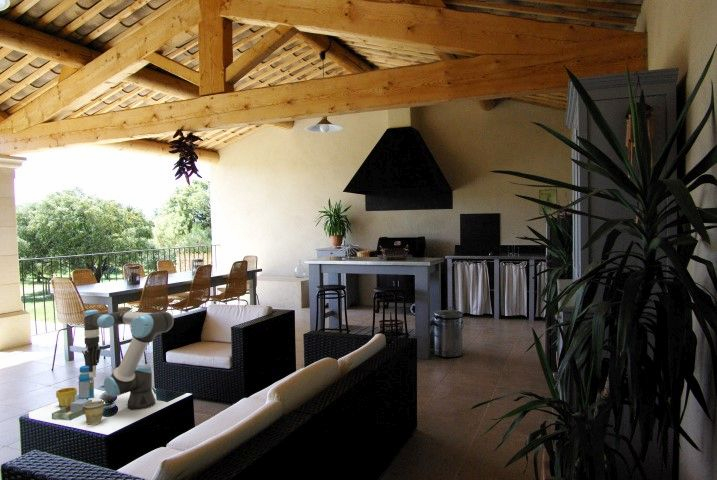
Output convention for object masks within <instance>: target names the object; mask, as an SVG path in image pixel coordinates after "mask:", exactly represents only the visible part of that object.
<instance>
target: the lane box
mask: <svg viewBox="0 0 717 480" xmlns="http://www.w3.org/2000/svg"><path fill="white" fill-rule="evenodd" d="M86 400H89V398H87V399H86ZM102 400H103V399H101V400H100V401H102ZM83 415H85V413H84V409H80V410H78V411H76V412H71V409H70V406H65V407H63V408H61V409H59V410H57V411H54V412H51V420H60V421H61V420H62V421H63V420H64V421H72V420H74V419H76V418H78V417H80V416H83Z"/></svg>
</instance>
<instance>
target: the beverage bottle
mask: <svg viewBox="0 0 717 480" xmlns="http://www.w3.org/2000/svg"><path fill="white" fill-rule="evenodd" d="M77 382H78V383H77V384H78V400H79V399H87V398H88V399H94V398H95V379H94V377H90V372H89V366H86V365H81V366H80V367H79V375H78V381H77Z"/></svg>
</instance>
